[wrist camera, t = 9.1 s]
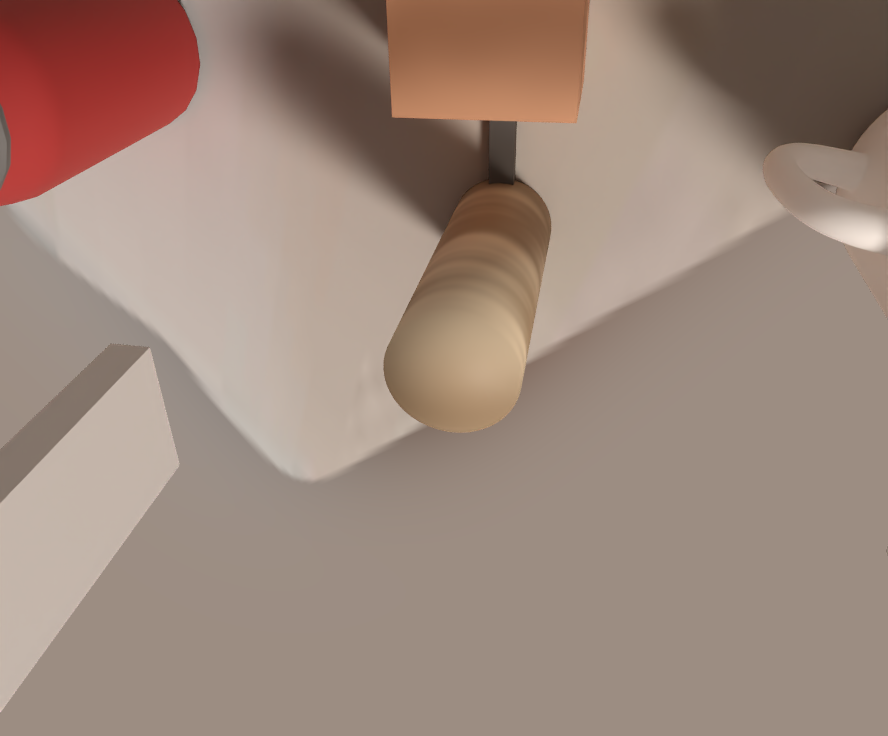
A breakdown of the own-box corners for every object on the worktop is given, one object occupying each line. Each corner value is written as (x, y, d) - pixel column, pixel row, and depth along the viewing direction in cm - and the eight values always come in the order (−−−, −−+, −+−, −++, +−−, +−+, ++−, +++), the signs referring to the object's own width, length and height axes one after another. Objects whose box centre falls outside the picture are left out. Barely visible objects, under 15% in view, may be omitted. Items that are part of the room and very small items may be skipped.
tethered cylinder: (424, -100, 28) (313, -86, 18) (597, -103, 27) (583, -89, 17) (434, 266, 35) (360, 422, 25) (569, 275, 34) (548, 441, 24)
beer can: (106, -86, 30) (-151, -66, 20) (237, 50, 32) (61, 131, 22) (29, 39, 33) (-226, 110, 23) (152, 156, 35) (-36, 269, 25)
